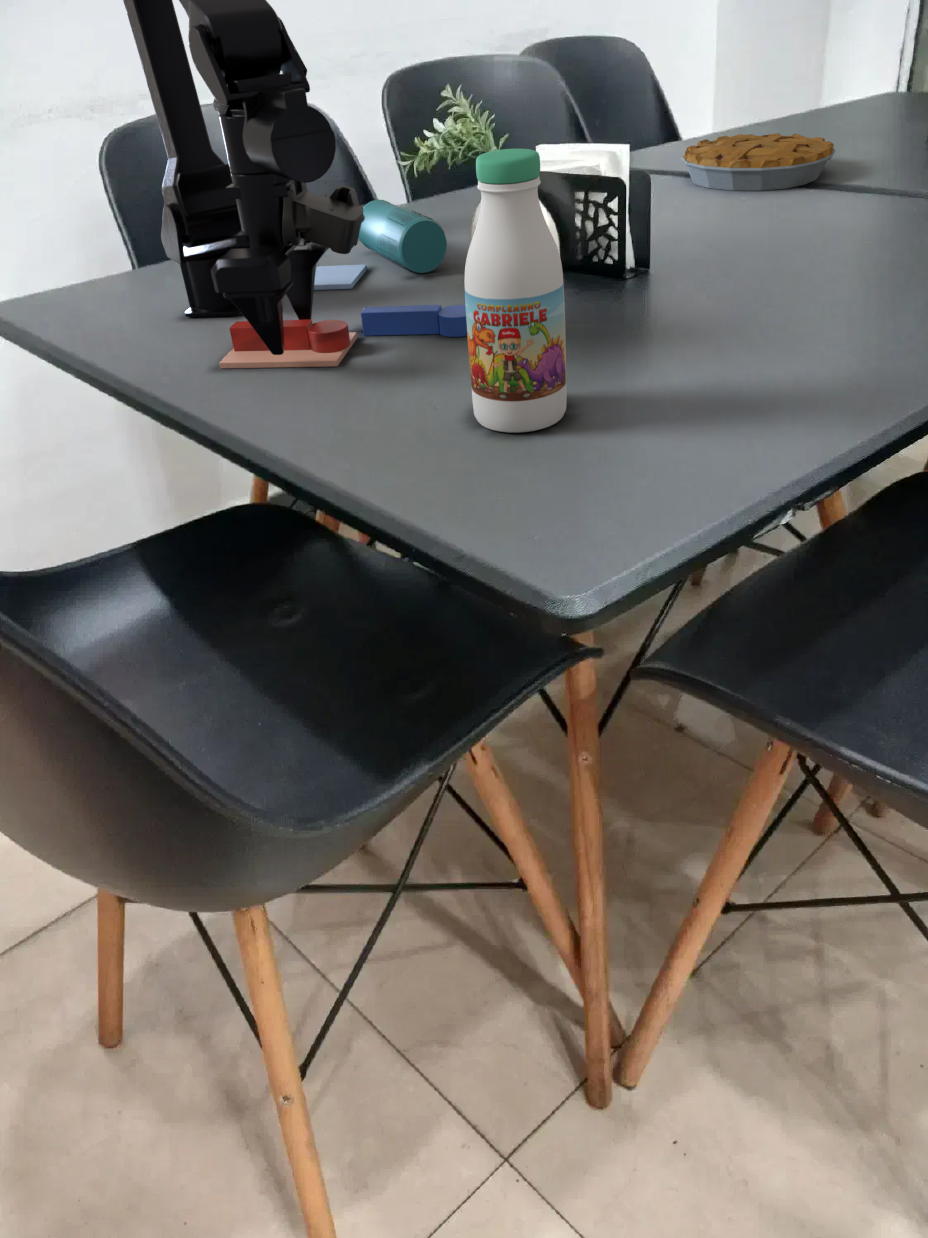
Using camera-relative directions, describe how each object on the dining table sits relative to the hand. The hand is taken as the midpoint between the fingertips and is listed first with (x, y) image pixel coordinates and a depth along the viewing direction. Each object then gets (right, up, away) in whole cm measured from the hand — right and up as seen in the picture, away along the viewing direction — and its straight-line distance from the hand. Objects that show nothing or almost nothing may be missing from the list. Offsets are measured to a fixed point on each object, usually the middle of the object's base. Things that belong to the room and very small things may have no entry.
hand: (292, 337), depth 97 cm
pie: (+61, +38, +49) cm, 87 cm away
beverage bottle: (+13, +15, +17) cm, 26 cm away
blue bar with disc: (+12, +2, +3) cm, 13 cm away
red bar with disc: (0, -1, +1) cm, 1 cm away
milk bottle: (+22, -11, -16) cm, 29 cm away
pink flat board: (0, -1, +1) cm, 2 cm away
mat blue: (-1, +13, +22) cm, 26 cm away
